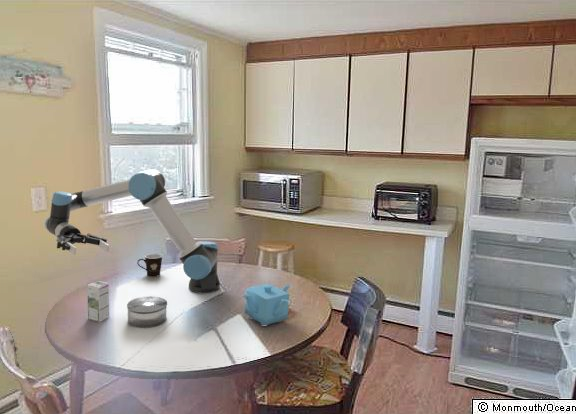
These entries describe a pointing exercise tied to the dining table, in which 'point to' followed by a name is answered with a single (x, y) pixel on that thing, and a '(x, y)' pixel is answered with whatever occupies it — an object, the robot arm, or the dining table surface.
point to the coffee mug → (152, 264)
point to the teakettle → (267, 303)
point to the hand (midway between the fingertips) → (92, 249)
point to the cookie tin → (147, 312)
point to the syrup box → (98, 301)
